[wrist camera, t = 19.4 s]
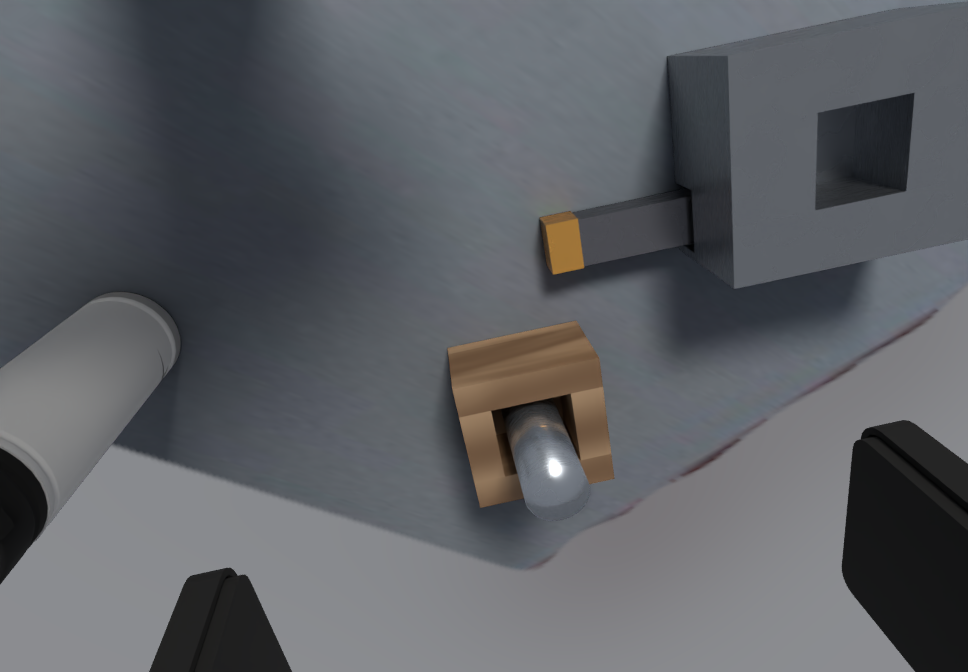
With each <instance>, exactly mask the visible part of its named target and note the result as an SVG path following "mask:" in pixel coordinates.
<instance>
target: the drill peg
mask: <svg viewBox="0 0 968 672" xmlns="http://www.w3.org/2000/svg"><path fill="white" fill-rule="evenodd" d="M500 410H501V414H502V417H503V421H504V425H505V429H506V432H507V436H508V440H509V443H510V447H511V451H512V455H513V458H514V462H515V466H516V470H517V473H518V477H519V481H520V484H521V488H522V492H523V496H524V499H525V503H526V506H527V508H528V509H529V511H530V512H531V513H532V514H533V515H535V516H536V517H538V518H540V519H543V520H548V521H558V520H563V519H566V518H569V517H571V516H573V515H575V514H576V513H578V512H579V511H580V510H581V509H582V508H583V507H584V506H585V504H586V502H587V500H588V498H589V495H590V485H589V482H588V480H587V477H586V475H585V473H584V470H583V468H582V466H581V463H580V461H579V459H578V456H577V454H576V452H575V449H574V447H573V445H572V442H571V440H570V438H569V435H568V433H567V431H566V428H565V426H564V424H563V421H562V419H561V417H560V415H559V412H558V410H557V408H556V405H555V403H554V401H553V398H548V399H544V400H539V401H534V402H530V403H525V404H520V405H516V406H511V407H506V408H502V409H500Z"/></svg>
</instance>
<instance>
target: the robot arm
mask: <svg viewBox="0 0 968 672" xmlns="http://www.w3.org/2000/svg"><path fill="white" fill-rule="evenodd" d="M842 573H843V577H844V580H845V583H846V584H847V586H848V588H849V590H850V591H851V593H852V594H853V595H854V597H855V598H856V599H857V600H858V601H859V603H860V604H861V605H862V606H863V608H864V609H865V610H866V611H867V613H868V614H869V615H870V616H871V618H872V619H873V620H874V621H875V622H876V624H877V625H878V626H879V627H880V629H881V630H882V631H883V632H884V634H885V635H886V636H887V637H888V639H889V640H890V641H891V642H892V644H893V645H894V646H895V647H896V649H897V650H898V651H899V652H900V653H901V655H902V656H903V657H904V658H905V660H906V661H907V662H908V663H909V665H910V666H911V667H912V668H913V669H914V671H915V672H968V464H967V463H966V462H965V461H963V460H962V459H961V458H959V457H958V456H957V455H955V454H954V453H953V452H951V451H950V450H949V449H947V448H946V447H944V446H943V445H942V444H941V443H939V442H938V441H937V440H935V439H934V438H933V437H931V436H930V435H929V434H928V433H926V432H925V431H924V430H922V429H921V428H919V427H918V426H917V425H915V424H914V423H912V422H910V421H906V420H902V421H897V422H893V423H888V424H884V425H879V426H874V427H870V428H867V429H865V430H864V432H863V433H862V436H861V440H857V441H856V442H855V443H854V446H853V452H852V462H851V473H850V484H849V494H848V505H847V516H846V527H845V538H844V548H843V559H842ZM149 672H292V671H291V669H290V666H289V665H288V662H287V660H286V658H285V656H284V654H283V651H282V649H281V647H280V645H279V643H278V640H277V638H276V636H275V634H274V632H273V629H272V627H271V625H270V623H269V621H268V619H267V616H266V614H265V612H264V610H263V608H262V606H261V603H260V601H259V599H258V597H257V595H256V593H255V591H254V588H253V586H252V584H251V582H250V580H249V579H248V577H247V576H246V575H239V576H237V574H236V573H235V571H234V570H233V569H231V568H224V569H220V570H215V571H210V572H206V573H201V574H197V575H192V576H190V577H189V578H188V579H187V580H186V582H185V584H184V586H183V588H182V591H181V593H180V596H179V599H178V601H177V603H176V606H175V609H174V611H173V614H172V616H171V619H170V621H169V623H168V626H167V629H166V631H165V634H164V636H163V639H162V641H161V644H160V646H159V649H158V651H157V654H156V656H155V659H154V661H153V664H152V667H151V669H150V671H149Z"/></svg>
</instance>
